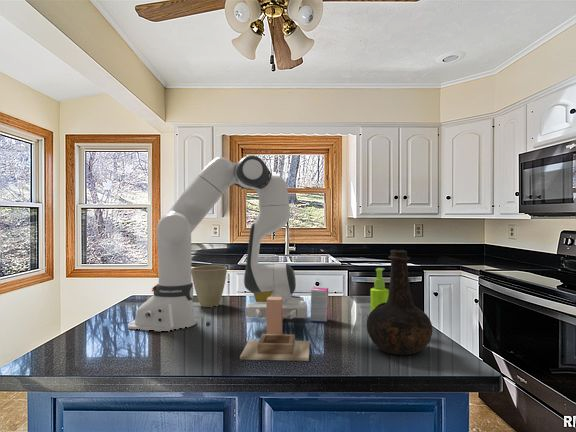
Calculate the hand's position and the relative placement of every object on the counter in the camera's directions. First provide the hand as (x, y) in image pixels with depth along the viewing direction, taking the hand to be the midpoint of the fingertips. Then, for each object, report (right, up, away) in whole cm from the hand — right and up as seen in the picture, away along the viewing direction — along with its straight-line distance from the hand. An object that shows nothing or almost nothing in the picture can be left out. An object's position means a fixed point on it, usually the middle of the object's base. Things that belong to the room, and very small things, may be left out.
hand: (274, 316), depth 124 cm
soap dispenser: (+35, -6, +9) cm, 36 cm away
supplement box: (+16, -7, +19) cm, 26 cm away
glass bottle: (+35, -7, -12) cm, 38 cm away
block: (0, -6, 0) cm, 7 cm away
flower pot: (-5, -7, +43) cm, 44 cm away
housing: (+1, -6, -13) cm, 14 cm away
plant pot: (-29, -7, +44) cm, 53 cm away
